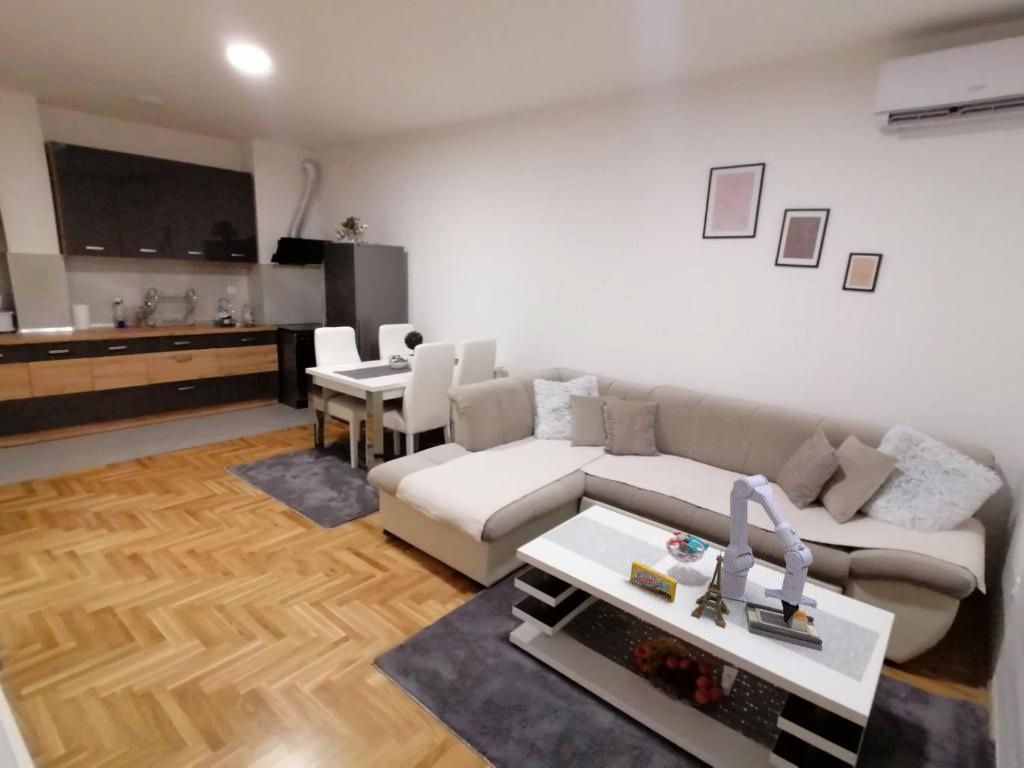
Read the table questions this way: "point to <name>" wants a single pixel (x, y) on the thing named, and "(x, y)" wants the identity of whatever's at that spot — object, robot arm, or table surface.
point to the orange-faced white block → (798, 621)
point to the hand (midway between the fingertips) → (785, 620)
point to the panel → (780, 626)
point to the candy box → (653, 581)
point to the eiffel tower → (713, 597)
